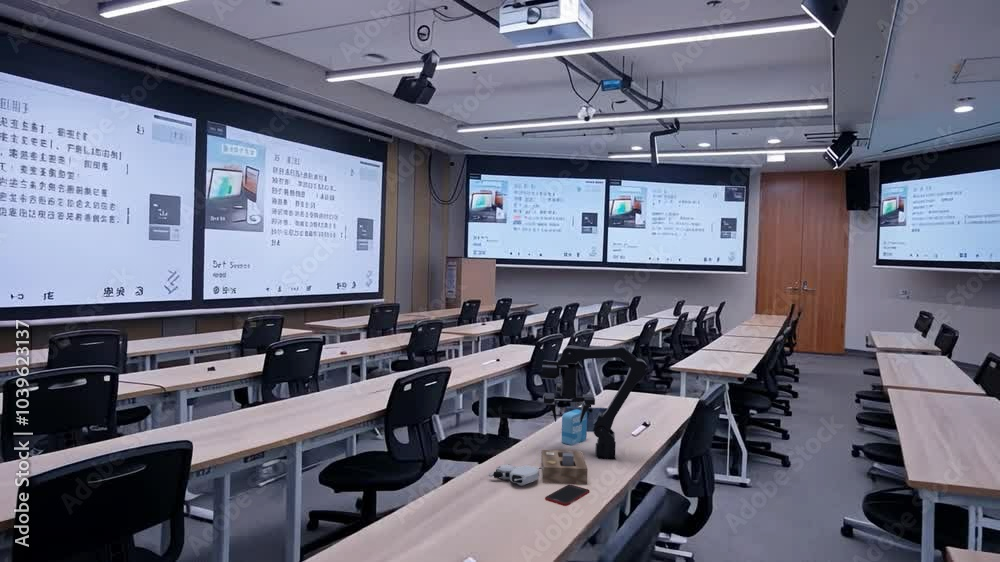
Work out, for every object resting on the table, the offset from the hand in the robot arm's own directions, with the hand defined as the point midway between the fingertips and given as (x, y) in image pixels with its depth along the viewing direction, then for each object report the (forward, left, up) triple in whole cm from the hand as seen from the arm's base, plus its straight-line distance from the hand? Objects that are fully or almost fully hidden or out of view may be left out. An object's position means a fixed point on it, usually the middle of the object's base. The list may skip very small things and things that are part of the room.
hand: (568, 422), depth 221 cm
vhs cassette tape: (-11, -33, -12) cm, 37 cm away
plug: (+2, +26, -12) cm, 28 cm away
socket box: (+3, +21, -12) cm, 24 cm away
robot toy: (+19, +29, -12) cm, 37 cm away
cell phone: (+3, +40, -13) cm, 42 cm away
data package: (-4, -16, -12) cm, 21 cm away
